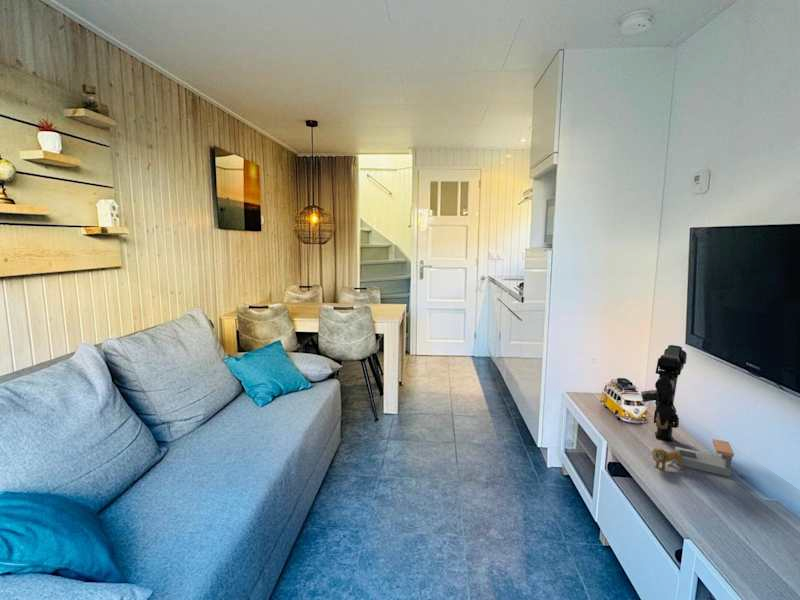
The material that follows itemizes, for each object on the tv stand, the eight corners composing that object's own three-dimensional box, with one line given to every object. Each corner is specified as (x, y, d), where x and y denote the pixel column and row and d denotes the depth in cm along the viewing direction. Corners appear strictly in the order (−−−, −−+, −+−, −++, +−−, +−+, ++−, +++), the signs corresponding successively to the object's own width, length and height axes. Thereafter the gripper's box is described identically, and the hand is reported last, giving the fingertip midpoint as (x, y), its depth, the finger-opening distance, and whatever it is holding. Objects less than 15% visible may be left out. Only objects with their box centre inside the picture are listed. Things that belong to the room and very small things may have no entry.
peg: (655, 423, 179) (657, 408, 178) (666, 426, 177) (668, 410, 176) (656, 427, 175) (657, 411, 174) (667, 429, 174) (669, 413, 173)
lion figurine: (658, 474, 158) (661, 451, 157) (646, 467, 163) (648, 445, 162) (688, 469, 163) (690, 447, 161) (675, 462, 168) (678, 440, 166)
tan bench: (709, 460, 169) (712, 438, 168) (725, 464, 167) (728, 442, 166) (714, 473, 160) (717, 450, 158) (730, 477, 157) (734, 454, 156)
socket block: (674, 453, 175) (675, 446, 174) (725, 464, 166) (726, 457, 166) (676, 464, 166) (677, 457, 165) (730, 476, 158) (731, 469, 157)
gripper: (643, 377, 186) (639, 411, 188) (643, 389, 170) (639, 427, 172) (673, 382, 180) (669, 417, 183) (676, 395, 164) (672, 433, 166)
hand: (662, 423), depth 176 cm, fingers closed on peg, 4 cm apart
